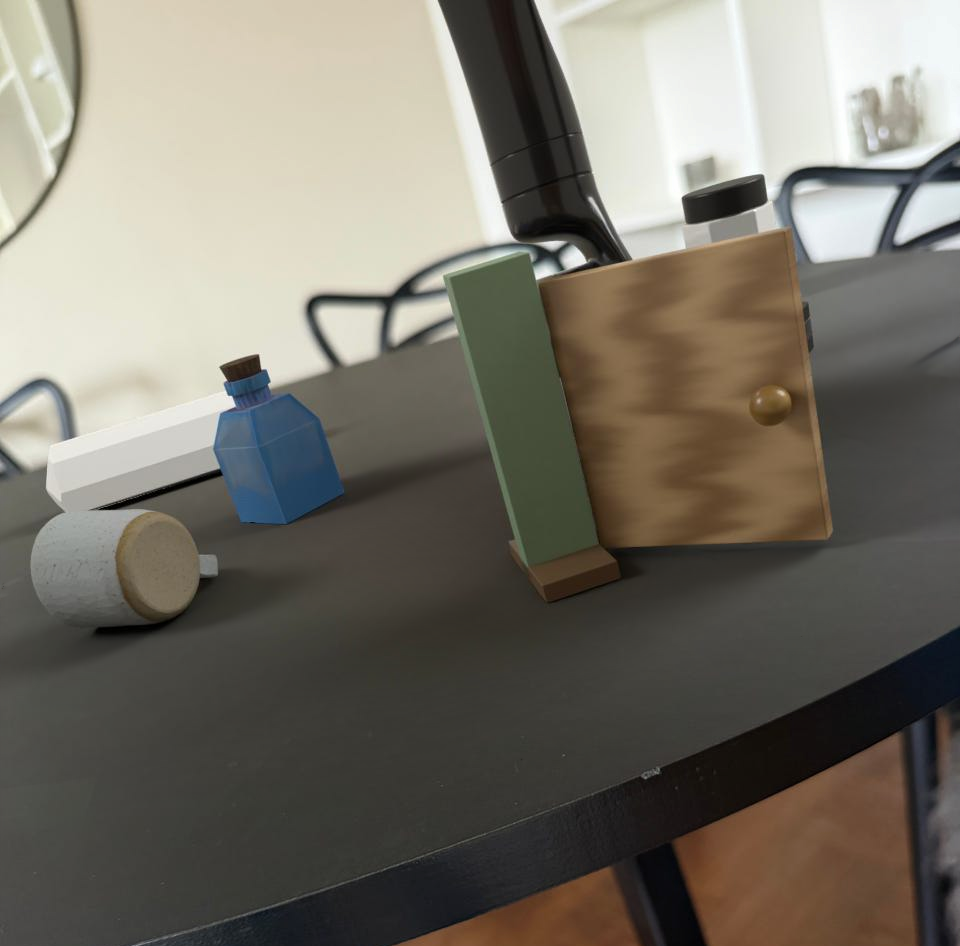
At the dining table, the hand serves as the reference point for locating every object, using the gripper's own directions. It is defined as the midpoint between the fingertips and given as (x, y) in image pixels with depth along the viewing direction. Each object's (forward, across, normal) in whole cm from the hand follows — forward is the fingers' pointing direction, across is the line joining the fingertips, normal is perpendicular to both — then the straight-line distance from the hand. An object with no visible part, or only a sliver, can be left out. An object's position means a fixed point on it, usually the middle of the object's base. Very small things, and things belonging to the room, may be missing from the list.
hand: (773, 381), depth 47 cm
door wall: (-6, -11, +8) cm, 15 cm away
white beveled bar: (-62, -38, +9) cm, 73 cm away
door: (-1, -4, +7) cm, 9 cm away
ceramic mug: (-22, -35, +8) cm, 42 cm away
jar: (-60, +23, +8) cm, 64 cm away
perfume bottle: (-37, -26, +8) cm, 46 cm away
